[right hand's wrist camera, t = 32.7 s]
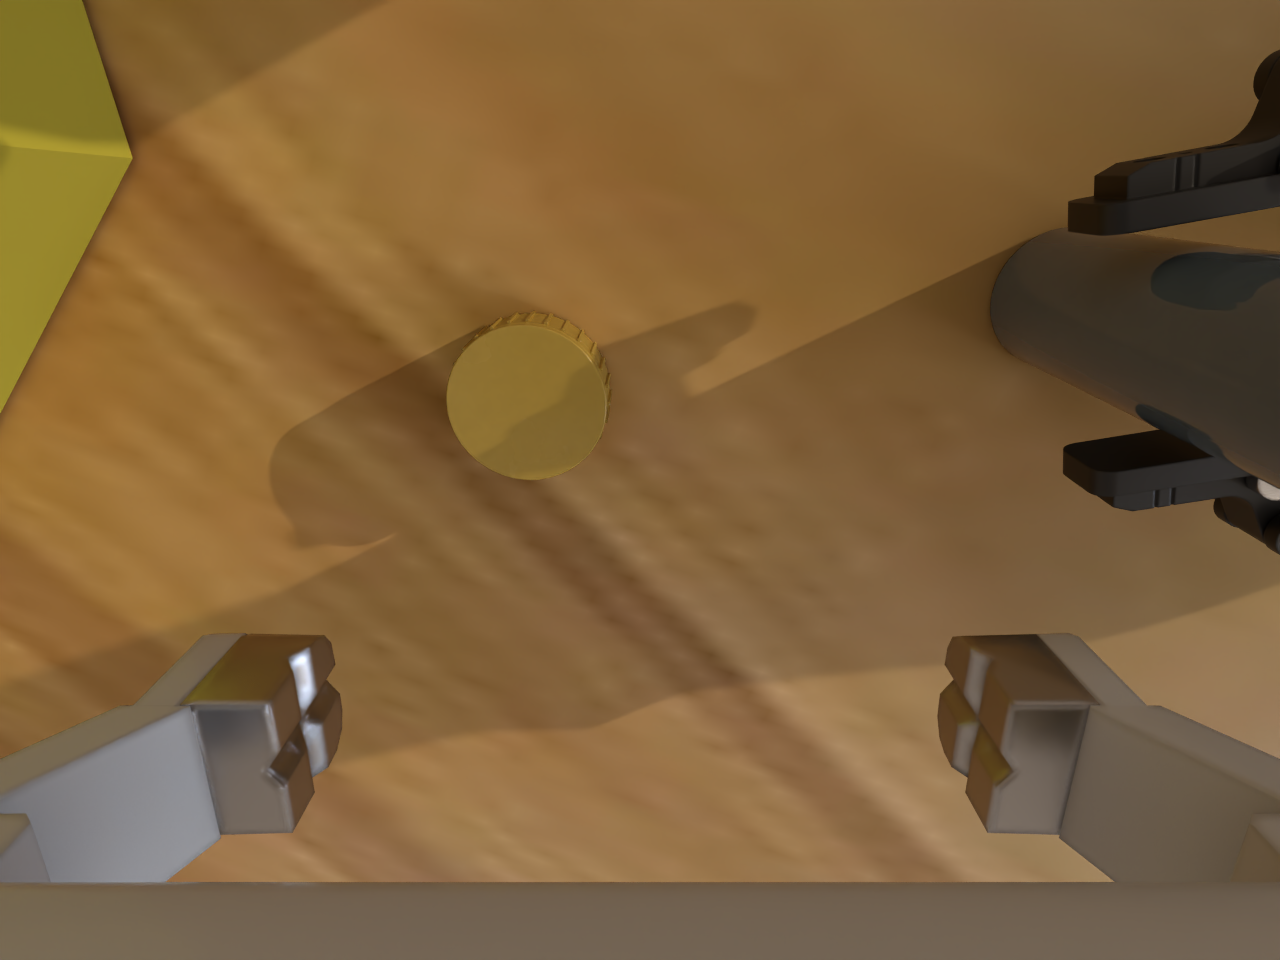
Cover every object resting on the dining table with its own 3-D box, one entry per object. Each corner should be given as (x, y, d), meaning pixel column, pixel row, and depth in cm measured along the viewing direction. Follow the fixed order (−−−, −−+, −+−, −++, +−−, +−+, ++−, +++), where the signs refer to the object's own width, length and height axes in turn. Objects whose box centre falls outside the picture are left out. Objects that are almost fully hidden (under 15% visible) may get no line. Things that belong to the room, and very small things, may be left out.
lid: (441, 428, 27) (424, 449, 25) (485, 286, 25) (470, 296, 23) (581, 479, 28) (576, 504, 26) (634, 344, 26) (633, 359, 24)
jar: (1033, 205, 24) (1995, 285, 7) (1156, 255, 25) (2341, 447, 7) (965, 338, 26) (1615, 678, 8) (1081, 383, 26) (1924, 790, 9)
